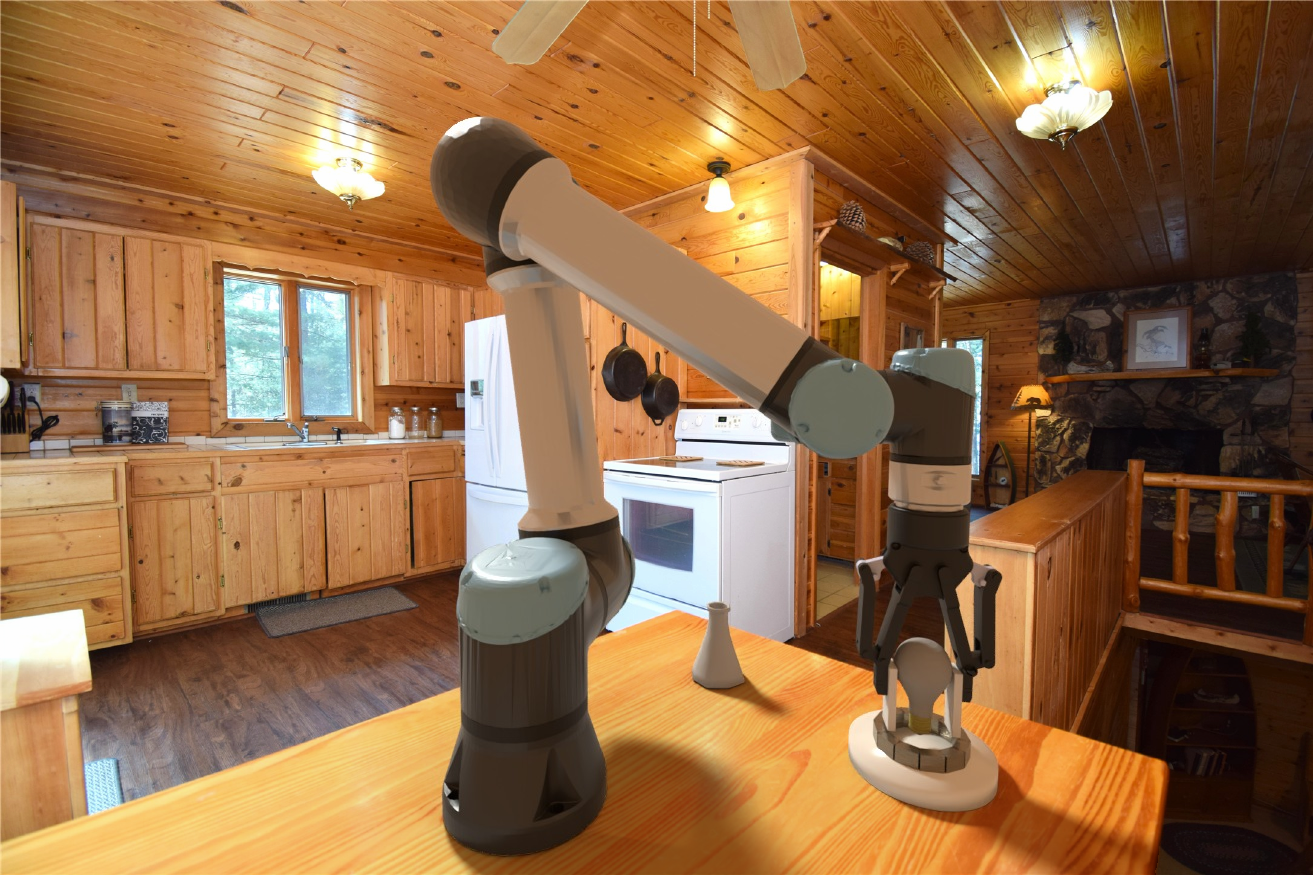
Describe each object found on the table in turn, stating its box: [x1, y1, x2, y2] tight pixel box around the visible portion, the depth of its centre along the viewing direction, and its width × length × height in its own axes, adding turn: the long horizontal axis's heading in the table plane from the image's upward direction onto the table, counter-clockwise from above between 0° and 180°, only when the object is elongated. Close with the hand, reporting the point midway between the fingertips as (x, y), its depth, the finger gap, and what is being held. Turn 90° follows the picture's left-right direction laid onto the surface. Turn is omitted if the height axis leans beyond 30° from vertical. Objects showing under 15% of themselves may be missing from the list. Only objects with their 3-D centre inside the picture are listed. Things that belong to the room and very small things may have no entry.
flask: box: [691, 601, 746, 689], centre depth 79 cm, size 7×7×10 cm
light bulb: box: [893, 636, 952, 735], centre depth 60 cm, size 6×6×10 cm
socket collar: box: [873, 706, 971, 774], centre depth 60 cm, size 9×9×2 cm
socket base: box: [847, 709, 999, 813], centre depth 60 cm, size 14×14×2 cm
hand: (920, 726), depth 60 cm, fingers closed on light bulb, 5 cm apart
